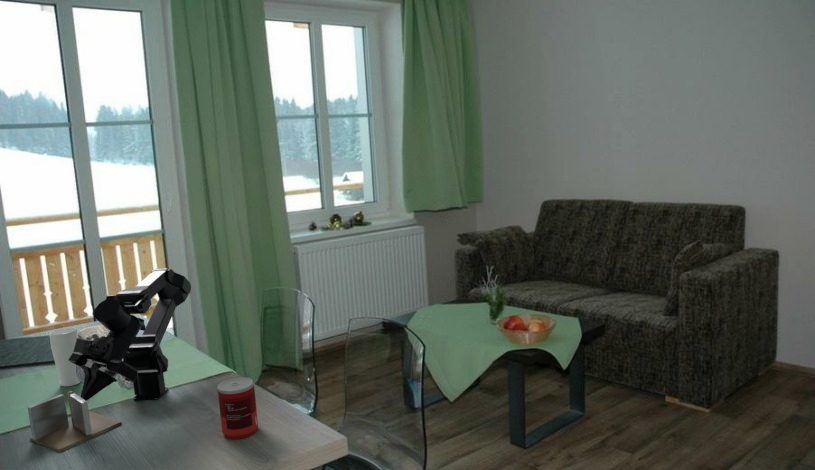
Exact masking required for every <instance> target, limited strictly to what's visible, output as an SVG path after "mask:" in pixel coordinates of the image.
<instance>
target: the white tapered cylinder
mask: <svg viewBox="0 0 815 470" xmlns="http://www.w3.org/2000/svg"><path fill="white" fill-rule="evenodd" d="M79 337H80V336H79V335H78V328H77V327H73V326H70V327H69V326H68V327H60V328H58V329H54V330H52V331H50V332H49V340H50V341H49V342H50V348H51V351H52V352H51V353H52V355H53V360H54V364H55V368H56V372H57V376H58V380H59V385H60V386H61V387H63V388H64V387H66V388H67V387H73V386H76V385H78V384H80V383H81V382H79V381H78V379H77V377H76V365H75V364H73V363H72V362H70V361H68V359H69V358H70V356H71V355H72V353H74V352H73V351H74V347H75V343H76V340H77V338H79Z"/></svg>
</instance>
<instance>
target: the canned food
mask: <svg viewBox="0 0 815 470" xmlns="http://www.w3.org/2000/svg"><path fill="white" fill-rule="evenodd" d="M217 398H218V406H219V414H220V422H221V423H220V425H221V430H222V431H221V432H222V434H223V435H224V437H225V438H227V439H229V440H241V439H247V438H248V437H251V436H253V435H254V434H256V432H257V431H258V428H259V420H258V412H257V411H258V410H257V399H256V390H255V383H254V380H253V379H252V378H249V377H241V376H240V377H232V378H228V379H226V380H223V381H221V382H220V383H218V385H217Z"/></svg>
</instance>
